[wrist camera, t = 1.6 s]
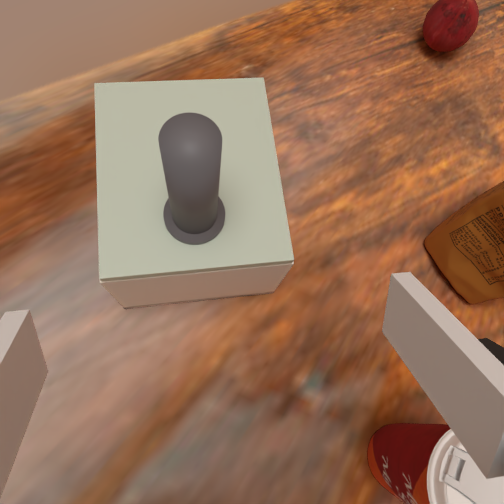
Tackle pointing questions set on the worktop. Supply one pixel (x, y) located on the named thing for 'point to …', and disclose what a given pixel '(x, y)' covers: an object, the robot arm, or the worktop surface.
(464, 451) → the paper cup
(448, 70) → the worktop surface
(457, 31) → the onion
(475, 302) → the coffee package
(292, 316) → the worktop surface
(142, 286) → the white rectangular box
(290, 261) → the lid
